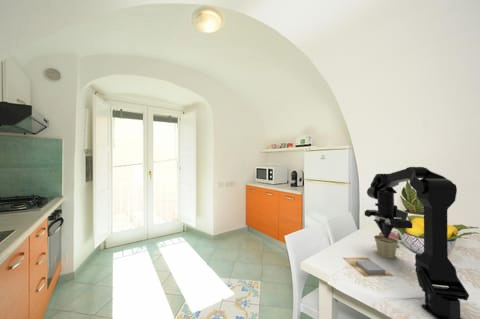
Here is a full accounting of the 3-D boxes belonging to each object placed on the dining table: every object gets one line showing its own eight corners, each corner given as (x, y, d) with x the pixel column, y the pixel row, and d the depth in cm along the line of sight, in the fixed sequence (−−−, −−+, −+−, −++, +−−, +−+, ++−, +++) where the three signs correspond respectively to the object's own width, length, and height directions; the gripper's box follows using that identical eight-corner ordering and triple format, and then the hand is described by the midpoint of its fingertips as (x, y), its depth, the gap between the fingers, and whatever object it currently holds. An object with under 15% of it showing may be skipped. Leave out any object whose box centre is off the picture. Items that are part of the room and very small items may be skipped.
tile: (371, 264, 78) (385, 274, 71) (356, 264, 78) (368, 274, 71) (371, 260, 78) (385, 269, 71) (355, 260, 78) (368, 270, 71)
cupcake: (375, 243, 103) (375, 221, 103) (384, 240, 106) (384, 219, 106) (394, 249, 95) (393, 226, 95) (402, 246, 98) (402, 224, 99)
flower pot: (404, 263, 81) (404, 244, 82) (380, 261, 83) (380, 242, 83) (391, 253, 91) (391, 236, 91) (370, 251, 92) (370, 234, 93)
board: (394, 278, 70) (394, 275, 70) (364, 279, 70) (364, 276, 70) (367, 259, 84) (367, 257, 84) (342, 260, 84) (342, 257, 84)
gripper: (425, 207, 71) (426, 247, 71) (385, 198, 90) (385, 230, 90) (398, 207, 71) (399, 247, 70) (363, 198, 90) (364, 230, 89)
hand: (386, 237), depth 80 cm, fingers closed
